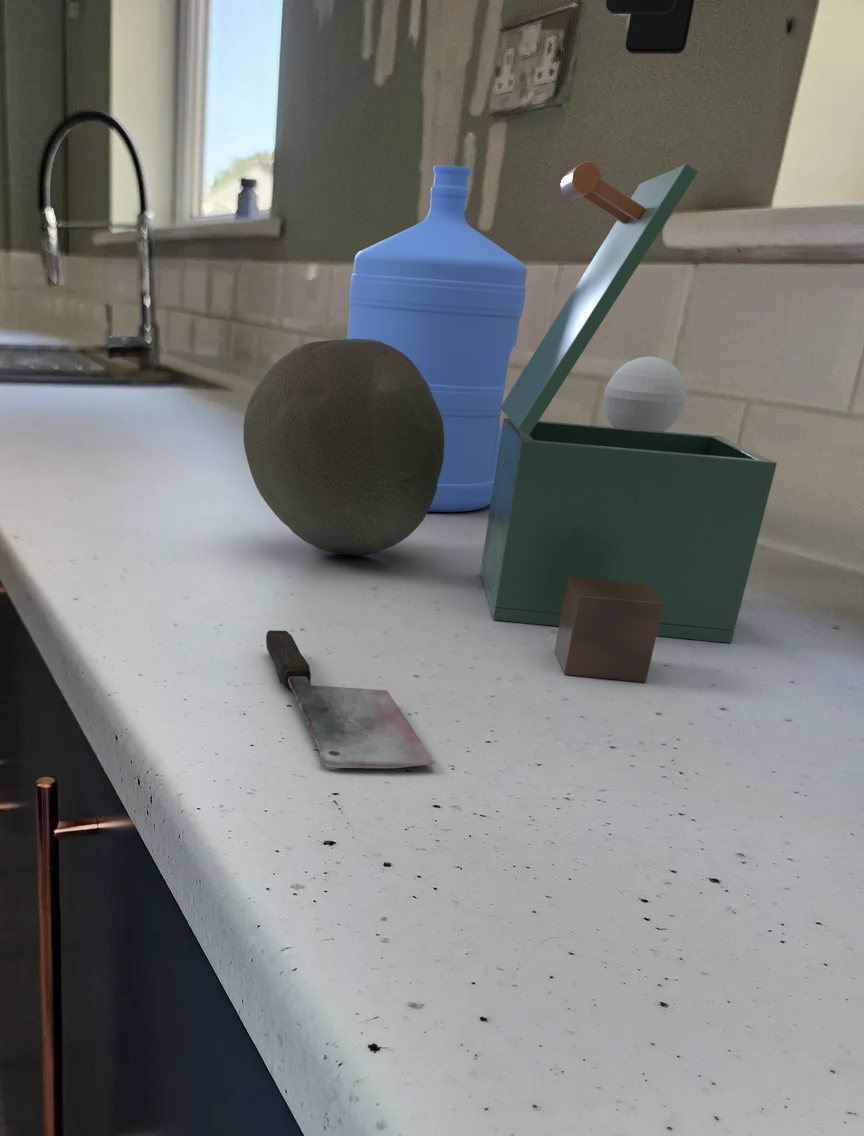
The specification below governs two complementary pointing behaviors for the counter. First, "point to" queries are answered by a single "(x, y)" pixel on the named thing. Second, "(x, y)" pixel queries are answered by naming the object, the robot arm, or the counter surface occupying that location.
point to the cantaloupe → (345, 444)
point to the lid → (595, 280)
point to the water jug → (447, 328)
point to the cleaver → (347, 716)
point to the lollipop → (645, 395)
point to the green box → (624, 522)
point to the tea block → (608, 629)
